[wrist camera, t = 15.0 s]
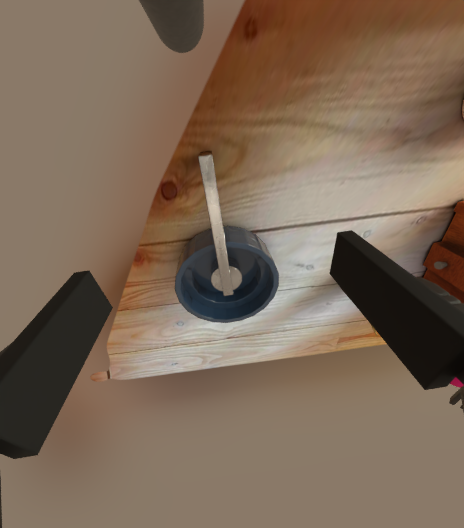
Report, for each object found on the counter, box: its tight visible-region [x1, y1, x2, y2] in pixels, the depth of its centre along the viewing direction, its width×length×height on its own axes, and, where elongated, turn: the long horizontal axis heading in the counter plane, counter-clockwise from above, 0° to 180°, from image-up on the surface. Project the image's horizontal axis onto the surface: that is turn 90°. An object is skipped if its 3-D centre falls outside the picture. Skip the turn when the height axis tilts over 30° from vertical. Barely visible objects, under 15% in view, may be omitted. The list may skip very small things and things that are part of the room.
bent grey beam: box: [198, 151, 242, 296], centre depth 29 cm, size 20×5×7 cm, turn 7°
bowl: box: [175, 226, 279, 323], centre depth 34 cm, size 16×16×6 cm
